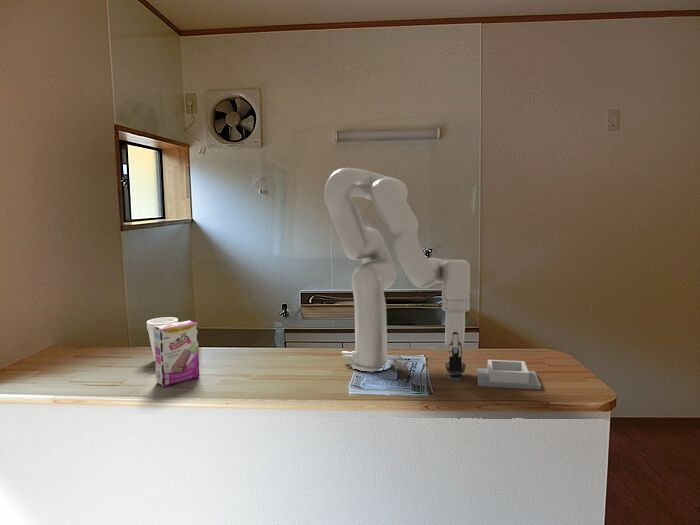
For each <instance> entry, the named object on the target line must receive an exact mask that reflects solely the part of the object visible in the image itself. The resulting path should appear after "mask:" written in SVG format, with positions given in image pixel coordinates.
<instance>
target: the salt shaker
mask: <svg viewBox="0 0 700 525" xmlns="http://www.w3.org/2000/svg"><path fill="white" fill-rule="evenodd" d="M452 345H453V344H452ZM458 345H459V344H458ZM452 349H453V348H452ZM448 353H449V354H450V350H449V351H448ZM461 353H463V351H461ZM444 367H445V370H446V372H447V373H448V374H446V375H445V378H446V379H447V380H448V381H455V382H457V381H458V382H459V381H464V380H465V379H466V377H465V376H464V375H463V373H465V369H466V368H467V365H466V363H463V362H462V367H461V371H450V370H449V361H447V362H445V364H444Z"/></svg>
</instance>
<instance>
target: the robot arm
mask: <svg viewBox="0 0 700 525" xmlns="http://www.w3.org/2000/svg"><path fill="white" fill-rule="evenodd" d="M323 190H324V191H323V193H324V194H323V196H324V197H323V198H324V203H325V207H326V209H327V211H328V213H329V215H330V218H331V220H332V223H333V225H334V229H335V231H336V233H337V237H338V240H339V242H340V244H341V247H342V250H343V252H344V254H345V256H347V258H349V260H353V261H362V264H360V265H359V266H357V267H356V268H355V270H354V271H353V272H352V276H351V290H352V294H353V304H354V305H353V306H354V307H353V308H354V336H355V337H354V342H355V343H354V345H355V346H354V347H355V348H354V350H352V351H347V350H346V351H344V350H342V351H341V358H343V359H344V360H351V361H350V367H352V369H353V370H354V369H358V370H364V371H374V370H379V369H381V368H383V367H382V366H383V365H384V364H385V363H386V362H387V359H388V347H387V346H388V339H387V337H388V332H387V331H388V327H387V326H388V322H387V302H386V297H385V292H384V291H385V290H387V289H388V288H390V287H392V286H393V285H394V283H395V281H396V278H397V271H396V268H395V264H394V261H393V258H392V256H391V254H390V251H389V249H388V247H387V244H386V241H385V239H384V237H383V235H382V234H381V233H380V232H379V231H378V230H377V229H376V228H373V227H371V226H366V224H365V223H364V220H363V218H362V216H361V215H362V214H361V213H360V210H359V209H358V207H357V205H356V204H355V202H354V200H353V198H362V199H366V200H369V201H372V203H373V205H374V207H375V208H376V210H377V212H378V213H379V215H380V217H381V219H382V221H383V223H384V224H385V226H386V228H387V229H388V231H389V234H390V236H391V239H392V240H391V241H392V246H393V248H394V253H395V257H396V258H397V260H398V262H399V264H400V267H401V268H402V271H403V272H404V274H405V275H406V277H407V279H408V280H409V282H411V284H412V285H414V286H415V287H417V288H420V289H427V288H429V287H432V286H433V285H436V284H440V283H441V311H445V319H444V323H445V324H444V325H445V326H444V328H445V329H444V331H445V332H444V333H445V334H444V335H445V336H444V338H445V340H444V346H445V347H446V348H448V347H449V351H450V353H449V361H448V362H449V370H450V371H461V367H462V363H463V362H462V360H463V359H462V357H463V356H462V353H463V351H462V347H464V341H465V330H466V312H469V311H470V309H471V307H470V306H471V304H470V300H471V299H470V298H471V295H470V294H471V290H470V289H471V266H470V263H469V261H468V260H465V259H459V258H458V259H457V258H456V259H452V258H451V259H445V258H444V259H443V258H440V257H439V258H438V257H427V256H426V254H425V252H424V250H423V249H422V247H421V245H420V243H419V238H418V229H419V221H418V218H417V216H416V215H415V213H414V212H413V210H412V209H411V207H410V204H409V203H408V202H407V199H408V194H409V192H408V187H407V186H406V184H405V183H404V182H403V181H402V180H400V179H398V178H395V177H391V176H387V175H384V174H381V173H377V172H374V171H370V170H367V169H363V168H353V167H342V168H339V169H337V170H335V171H333V173H331V175H330V176H329V178H328V179H327V180H326V183H325V185H324V189H323ZM452 344H453V345H452ZM458 344H459V345H458ZM452 348H453V349H452ZM461 351H462V353H461Z"/></svg>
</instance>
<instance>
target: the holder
mask: <svg viewBox="0 0 700 525" xmlns="http://www.w3.org/2000/svg"><path fill="white" fill-rule="evenodd" d="M476 377H477V378H476V380H477V387H487V388H490V387H491V388H502V389H503V388H507V389H525V390H542V384H541V382H540V380H539V377H538V375H537V372H536V371H535V370H528V367H527V365H526V361H523V360H501V359H487V368H484V367H483V368H481V367H478V368H477V367H476Z"/></svg>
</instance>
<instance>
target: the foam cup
mask: <svg viewBox="0 0 700 525" xmlns="http://www.w3.org/2000/svg"><path fill="white" fill-rule="evenodd" d="M178 322H179V319H178V318H177V317H174V316H173V317H171V316H168V317H157V318H152V319H149V320H147V321H146V330H147V331H148V336H149V342H150V346H151V350H152V351H151V352H152V356H153V360H154V361H155V347H154V327H155V326H161V325H166V324H172V323H178Z"/></svg>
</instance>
